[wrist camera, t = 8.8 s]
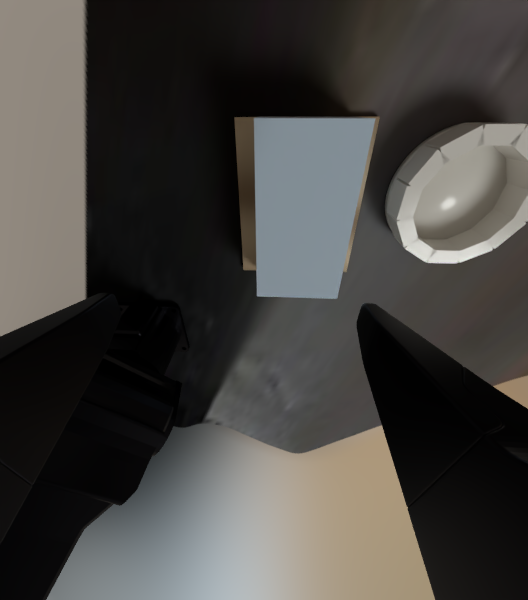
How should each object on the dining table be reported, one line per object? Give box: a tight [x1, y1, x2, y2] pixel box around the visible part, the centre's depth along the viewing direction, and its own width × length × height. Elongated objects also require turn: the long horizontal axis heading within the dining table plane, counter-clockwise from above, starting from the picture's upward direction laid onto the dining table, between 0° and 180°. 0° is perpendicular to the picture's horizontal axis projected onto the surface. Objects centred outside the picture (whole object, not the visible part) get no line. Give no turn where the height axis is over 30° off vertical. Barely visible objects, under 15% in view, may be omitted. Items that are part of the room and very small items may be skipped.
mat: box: [234, 117, 380, 272], centre depth 19 cm, size 11×9×1 cm
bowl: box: [385, 122, 528, 263], centre depth 17 cm, size 8×8×3 cm
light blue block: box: [254, 117, 376, 299], centre depth 18 cm, size 11×6×4 cm, turn 0°
